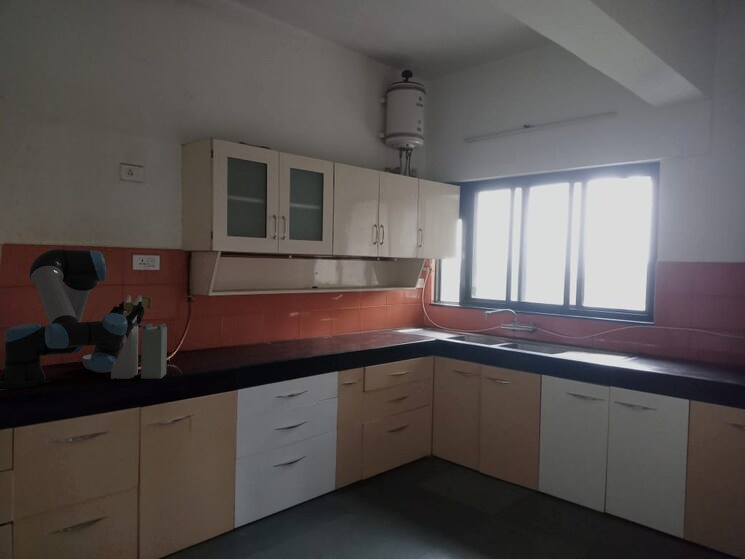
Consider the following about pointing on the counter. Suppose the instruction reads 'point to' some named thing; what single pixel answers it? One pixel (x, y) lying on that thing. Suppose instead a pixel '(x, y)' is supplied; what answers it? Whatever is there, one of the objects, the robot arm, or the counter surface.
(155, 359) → the upright grey pillar
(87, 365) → the cereal bowl
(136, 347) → the block
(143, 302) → the brass pin
